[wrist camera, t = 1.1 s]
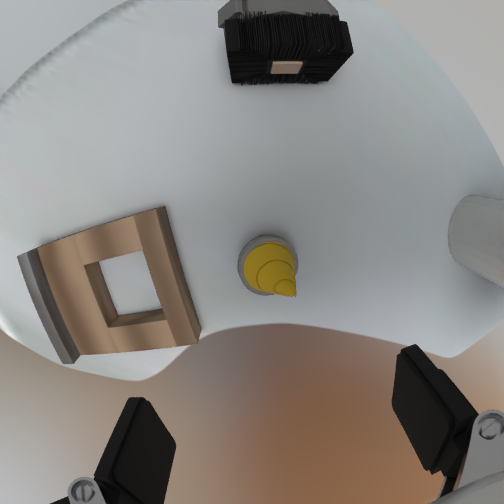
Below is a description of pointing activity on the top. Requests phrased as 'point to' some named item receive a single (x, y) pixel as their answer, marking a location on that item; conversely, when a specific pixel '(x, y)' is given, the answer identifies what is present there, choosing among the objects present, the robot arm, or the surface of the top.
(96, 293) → the jig
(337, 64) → the cpu cooler
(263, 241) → the drill bit
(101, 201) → the top surface
